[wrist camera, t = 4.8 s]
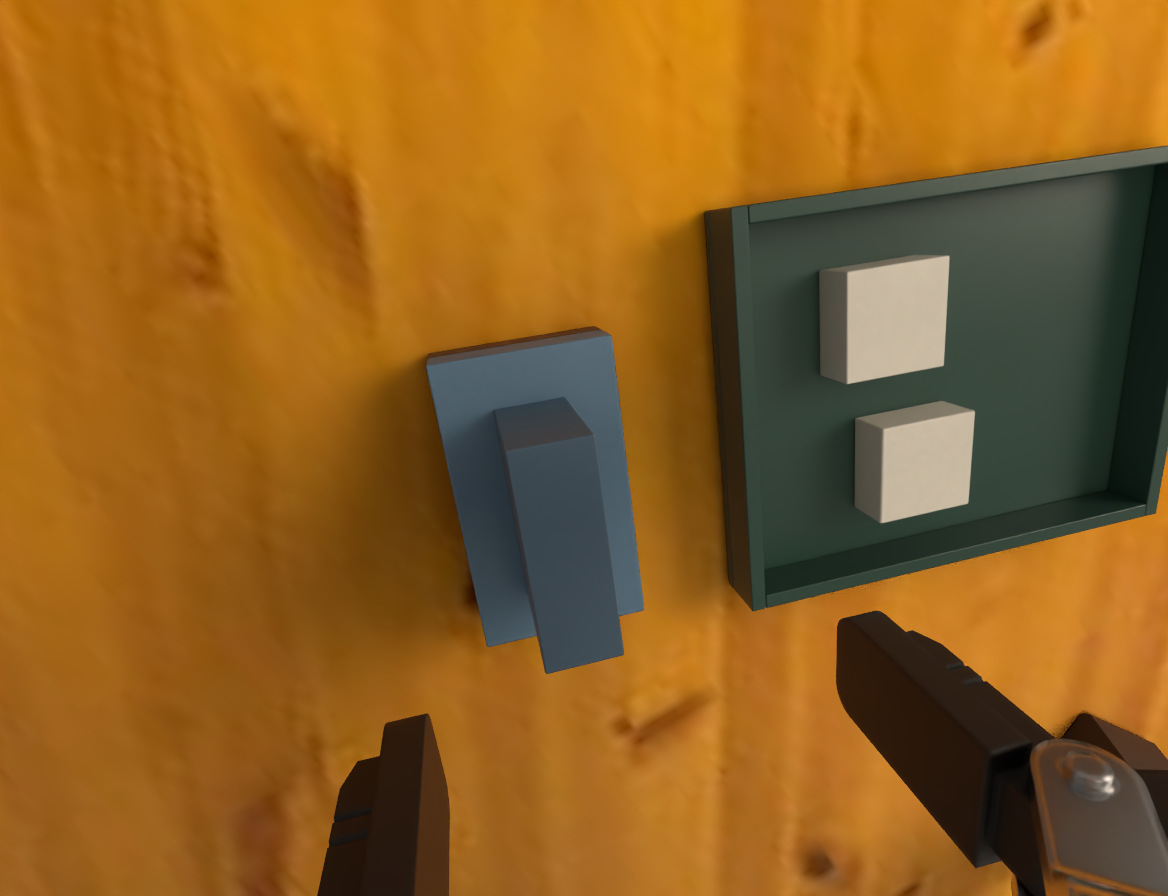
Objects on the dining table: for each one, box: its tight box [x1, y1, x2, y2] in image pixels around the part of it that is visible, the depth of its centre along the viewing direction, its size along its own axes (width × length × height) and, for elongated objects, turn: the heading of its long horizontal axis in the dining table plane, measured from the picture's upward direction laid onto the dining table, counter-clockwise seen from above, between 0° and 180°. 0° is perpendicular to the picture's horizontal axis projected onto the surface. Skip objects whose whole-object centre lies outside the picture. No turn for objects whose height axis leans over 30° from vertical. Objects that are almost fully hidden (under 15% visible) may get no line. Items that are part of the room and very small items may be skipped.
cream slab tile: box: [819, 255, 950, 384], centre depth 23 cm, size 4×4×2 cm
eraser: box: [426, 326, 644, 674], centre depth 21 cm, size 6×10×7 cm, turn 8°
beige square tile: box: [855, 401, 975, 523], centre depth 25 cm, size 4×4×2 cm
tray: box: [705, 146, 1168, 611], centre depth 25 cm, size 19×15×2 cm
